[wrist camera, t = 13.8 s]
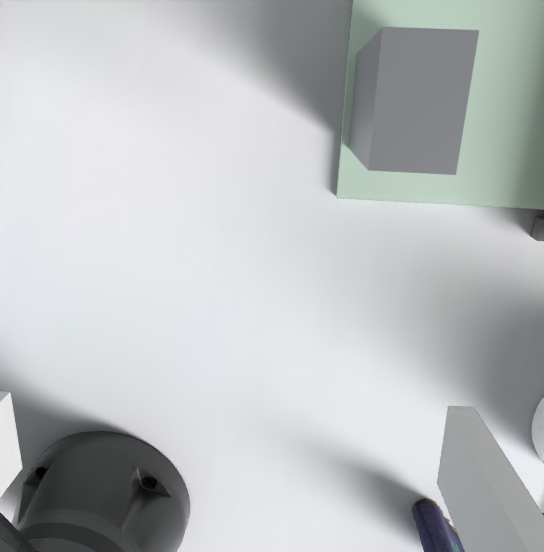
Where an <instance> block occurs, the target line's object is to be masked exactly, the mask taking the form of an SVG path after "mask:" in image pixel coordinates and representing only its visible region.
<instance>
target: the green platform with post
mask: <svg viewBox="0 0 544 552" xmlns="http://www.w3.org/2000/svg"><path fill="white" fill-rule="evenodd" d="M336 198H340V199H359V200H377V201H395V202H414V203H432V204H450V205H468V206H487V207H505V208H523V209H542V210H544V0H353V2H352V14H351V26H350V38H349V49H348V61H347V73H346V85H345V96H344V108H343V120H342V132H341V143H340V155H339V167H338V179H337V190H336Z"/></svg>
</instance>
